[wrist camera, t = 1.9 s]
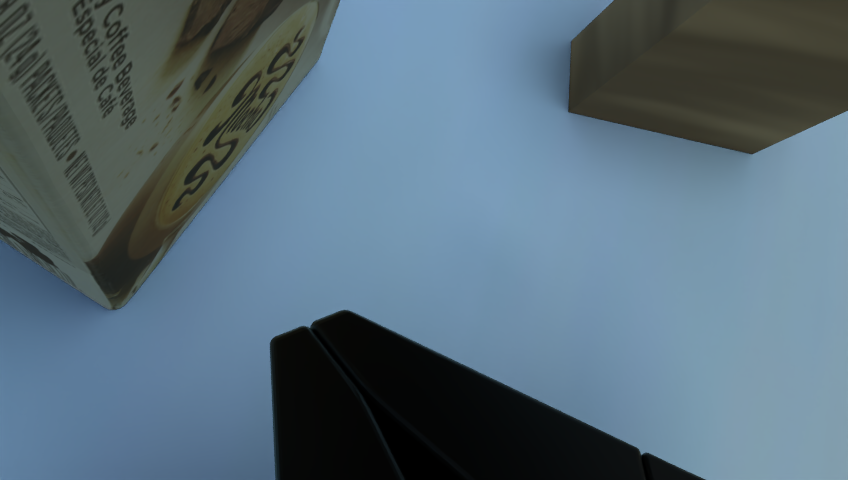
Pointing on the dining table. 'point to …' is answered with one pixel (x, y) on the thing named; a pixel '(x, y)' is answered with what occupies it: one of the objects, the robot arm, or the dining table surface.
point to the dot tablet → (714, 68)
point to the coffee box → (134, 121)
